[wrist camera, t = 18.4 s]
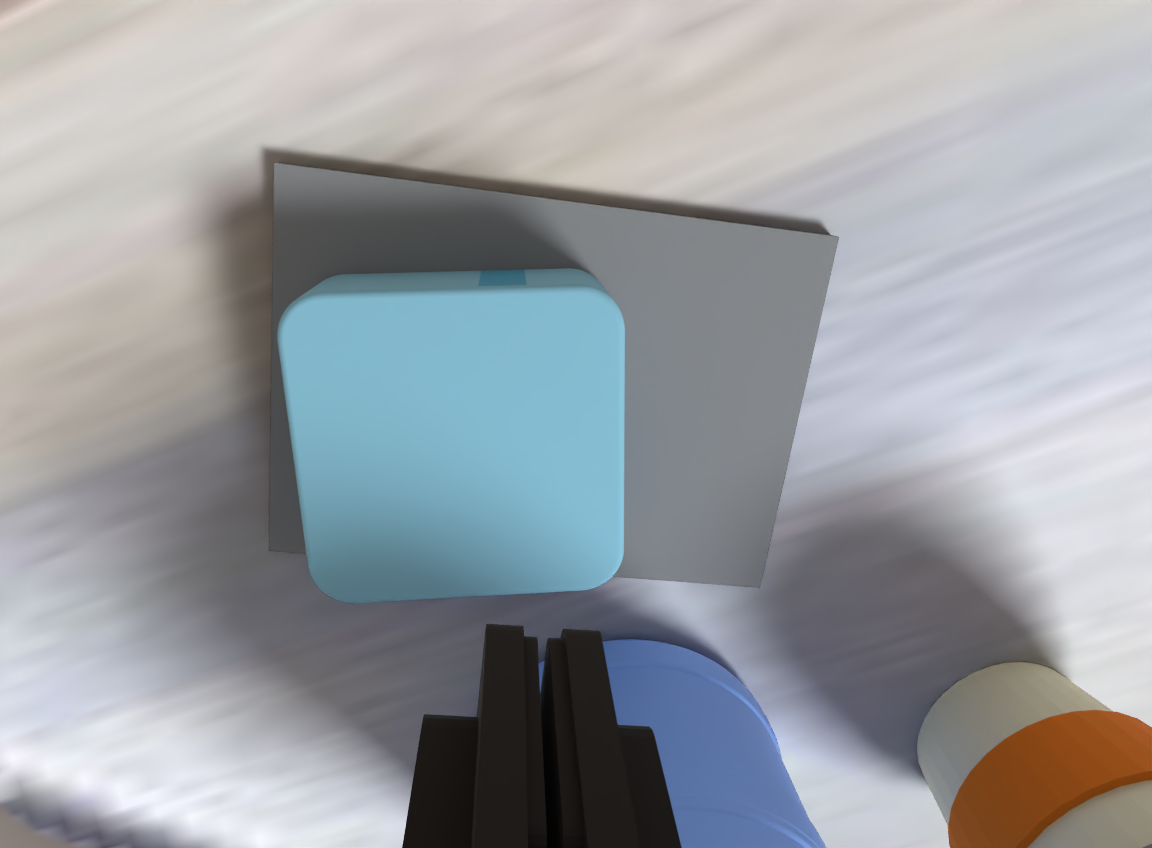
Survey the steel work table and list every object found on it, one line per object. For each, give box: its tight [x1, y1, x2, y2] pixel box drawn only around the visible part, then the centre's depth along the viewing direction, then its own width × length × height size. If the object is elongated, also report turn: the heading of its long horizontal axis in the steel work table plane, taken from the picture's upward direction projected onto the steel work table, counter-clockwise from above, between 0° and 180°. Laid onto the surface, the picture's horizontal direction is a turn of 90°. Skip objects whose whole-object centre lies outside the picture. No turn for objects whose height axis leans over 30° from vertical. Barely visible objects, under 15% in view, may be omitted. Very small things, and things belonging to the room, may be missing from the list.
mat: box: [269, 163, 839, 588], centre depth 34 cm, size 22×16×1 cm
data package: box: [277, 268, 625, 603], centre depth 31 cm, size 12×4×12 cm
